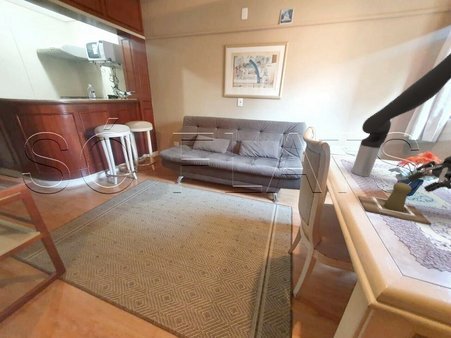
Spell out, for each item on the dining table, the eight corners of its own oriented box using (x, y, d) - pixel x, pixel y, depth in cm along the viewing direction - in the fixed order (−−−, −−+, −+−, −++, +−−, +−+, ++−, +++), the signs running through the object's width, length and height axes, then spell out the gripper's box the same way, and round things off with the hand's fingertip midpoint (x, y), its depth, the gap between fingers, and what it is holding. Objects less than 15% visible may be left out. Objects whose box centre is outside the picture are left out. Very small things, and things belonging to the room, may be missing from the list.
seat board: (357, 197, 84) (359, 193, 83) (413, 208, 77) (415, 204, 77) (365, 211, 73) (367, 207, 73) (430, 225, 67) (433, 220, 66)
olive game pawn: (406, 213, 72) (419, 188, 68) (389, 211, 73) (400, 186, 68) (396, 205, 77) (407, 181, 73) (380, 203, 78) (390, 179, 74)
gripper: (446, 146, 70) (399, 170, 76) (487, 157, 57) (426, 185, 63) (456, 161, 71) (409, 183, 77) (498, 175, 58) (437, 201, 64)
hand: (417, 184), depth 70 cm, fingers open, 8 cm apart
